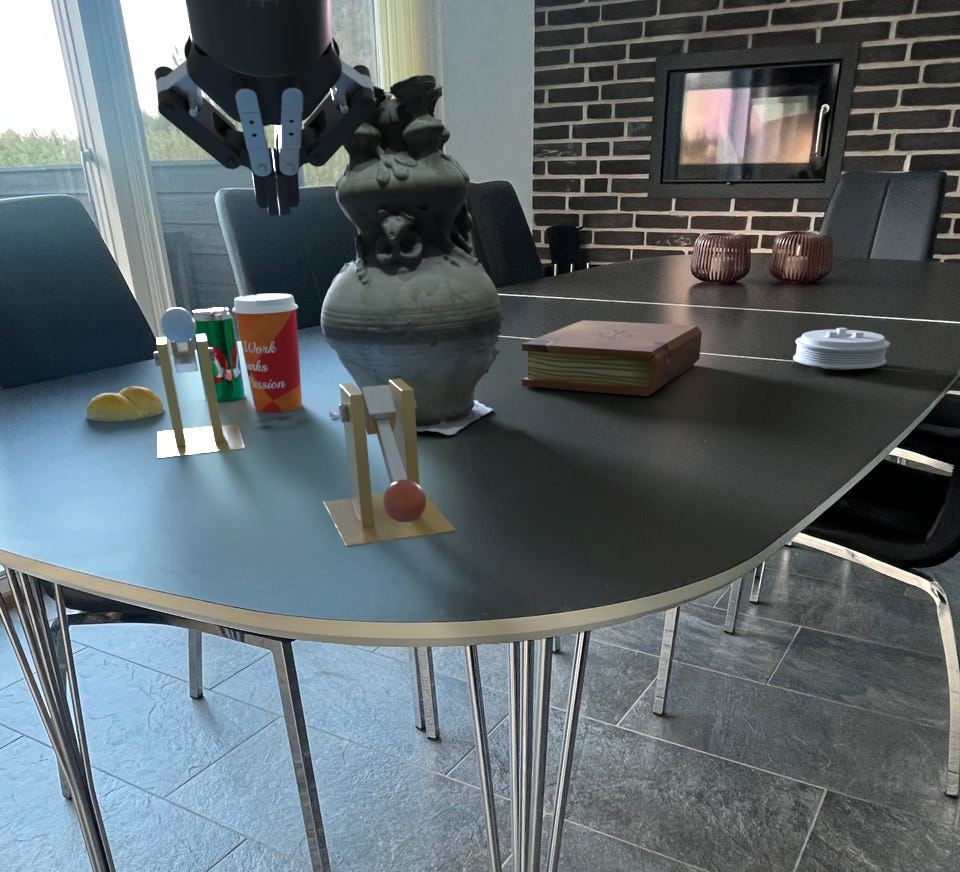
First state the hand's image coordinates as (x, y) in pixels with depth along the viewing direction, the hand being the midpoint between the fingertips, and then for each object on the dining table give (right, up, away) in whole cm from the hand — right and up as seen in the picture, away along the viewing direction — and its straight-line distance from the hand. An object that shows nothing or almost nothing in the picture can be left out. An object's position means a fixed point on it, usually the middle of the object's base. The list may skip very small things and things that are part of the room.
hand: (278, 205), depth 58 cm
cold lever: (-16, -1, +28) cm, 32 cm away
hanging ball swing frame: (-17, -8, +37) cm, 42 cm away
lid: (+66, +10, +68) cm, 95 cm away
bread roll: (-30, -2, +49) cm, 58 cm away
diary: (+33, +9, +66) cm, 74 cm away
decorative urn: (+6, -2, +48) cm, 49 cm away
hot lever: (+7, -16, +10) cm, 20 cm away
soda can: (-20, +1, +55) cm, 59 cm away
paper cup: (-11, -1, +50) cm, 51 cm away
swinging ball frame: (+6, -20, +15) cm, 26 cm away
